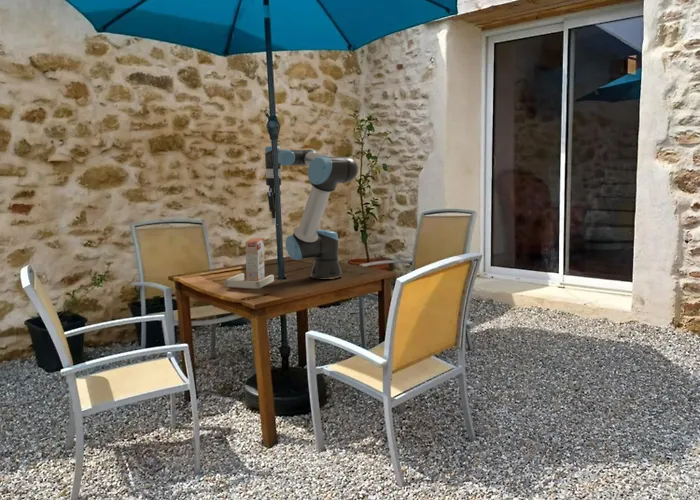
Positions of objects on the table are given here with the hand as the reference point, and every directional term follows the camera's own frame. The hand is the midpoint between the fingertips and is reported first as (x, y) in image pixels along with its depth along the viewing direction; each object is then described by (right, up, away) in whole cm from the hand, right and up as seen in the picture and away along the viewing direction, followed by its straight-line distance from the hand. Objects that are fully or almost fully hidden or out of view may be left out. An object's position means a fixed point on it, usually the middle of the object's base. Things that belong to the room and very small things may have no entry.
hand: (274, 224), depth 298 cm
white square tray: (-9, -29, -23) cm, 38 cm away
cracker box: (-6, -29, -24) cm, 38 cm away
